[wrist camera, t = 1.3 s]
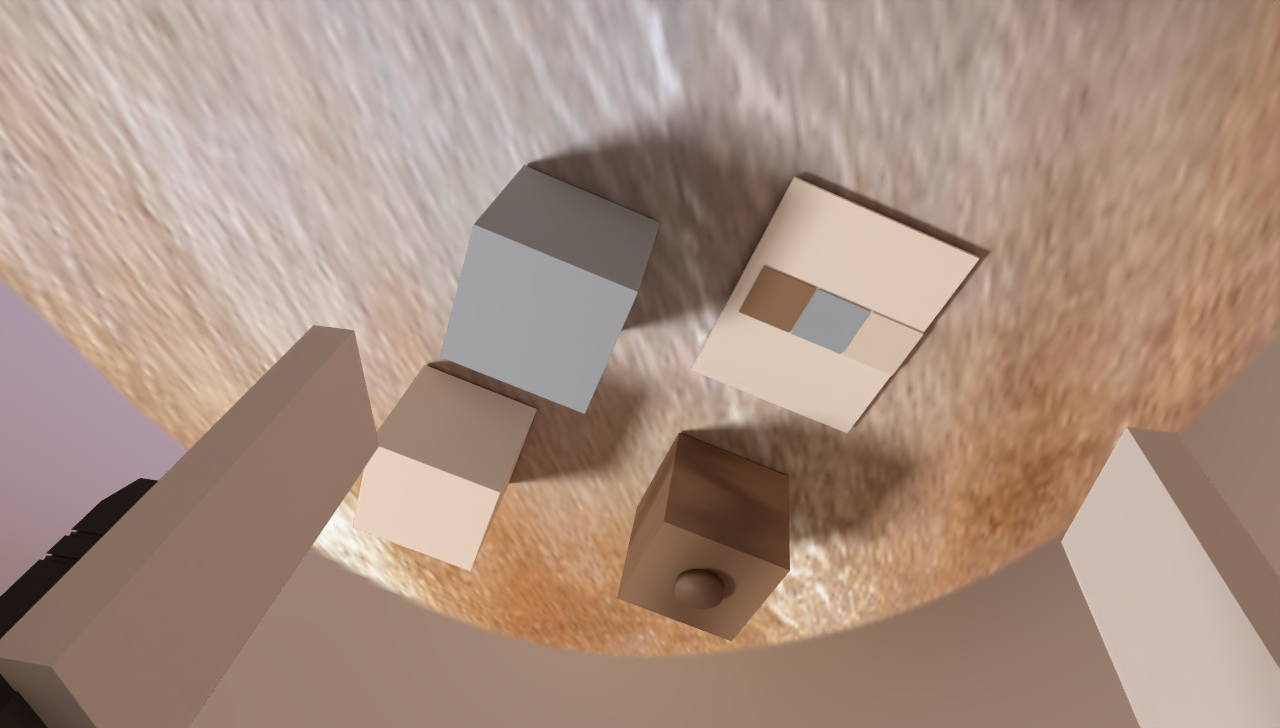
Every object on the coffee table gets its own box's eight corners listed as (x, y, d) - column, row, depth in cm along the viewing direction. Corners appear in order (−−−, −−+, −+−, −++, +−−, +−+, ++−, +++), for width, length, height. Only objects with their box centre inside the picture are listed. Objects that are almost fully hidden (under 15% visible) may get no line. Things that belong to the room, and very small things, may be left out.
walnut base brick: (637, 507, 39) (615, 606, 34) (679, 432, 36) (662, 530, 30) (737, 546, 40) (730, 650, 34) (788, 476, 36) (790, 579, 31)
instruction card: (691, 367, 33) (691, 371, 33) (794, 176, 28) (794, 178, 27) (846, 430, 34) (847, 434, 34) (978, 256, 28) (980, 259, 28)
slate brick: (489, 284, 33) (440, 357, 28) (524, 165, 29) (473, 224, 24) (612, 333, 33) (584, 414, 28) (660, 222, 30) (638, 292, 25)
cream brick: (405, 445, 39) (352, 527, 34) (424, 365, 36) (369, 442, 31) (507, 485, 40) (470, 571, 35) (537, 409, 36) (500, 492, 31)
